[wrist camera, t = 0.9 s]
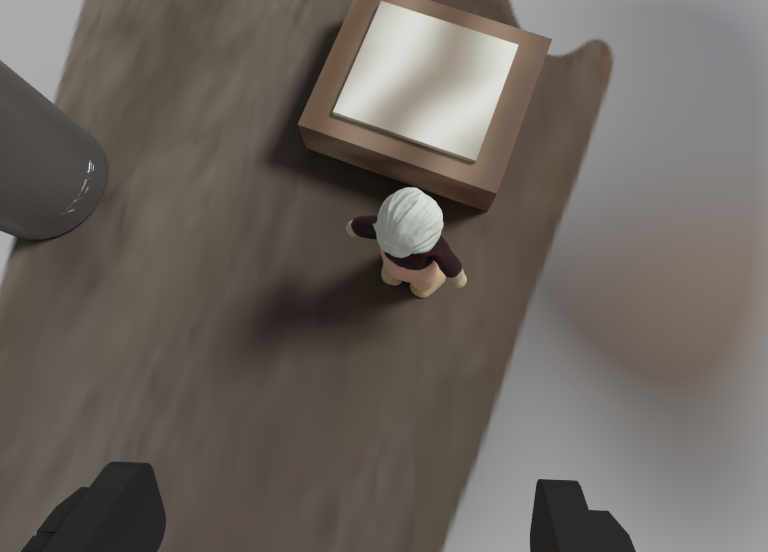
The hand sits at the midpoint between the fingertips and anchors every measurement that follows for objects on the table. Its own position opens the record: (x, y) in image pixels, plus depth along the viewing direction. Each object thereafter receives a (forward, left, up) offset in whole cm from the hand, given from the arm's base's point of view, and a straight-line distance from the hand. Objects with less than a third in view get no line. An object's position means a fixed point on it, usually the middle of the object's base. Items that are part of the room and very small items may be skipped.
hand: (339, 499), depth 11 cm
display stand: (-5, +22, -24) cm, 33 cm away
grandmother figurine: (-2, +10, -24) cm, 26 cm away
